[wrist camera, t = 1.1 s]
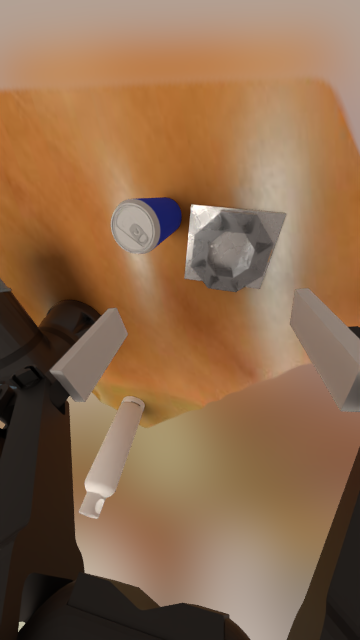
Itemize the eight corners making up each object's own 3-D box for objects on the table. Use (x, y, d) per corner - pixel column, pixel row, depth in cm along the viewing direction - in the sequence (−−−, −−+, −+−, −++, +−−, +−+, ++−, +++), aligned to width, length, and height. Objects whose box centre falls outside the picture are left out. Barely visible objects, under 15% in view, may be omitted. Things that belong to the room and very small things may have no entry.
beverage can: (145, 215, 31) (98, 228, 19) (166, 189, 28) (126, 184, 16) (167, 239, 33) (137, 266, 20) (188, 216, 30) (168, 231, 18)
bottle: (119, 396, 64) (64, 506, 41) (140, 396, 62) (94, 513, 39) (128, 409, 68) (83, 516, 45) (148, 409, 66) (110, 523, 43)
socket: (185, 276, 36) (181, 285, 32) (192, 204, 29) (188, 205, 25) (258, 286, 34) (263, 297, 31) (284, 213, 28) (294, 215, 24)
